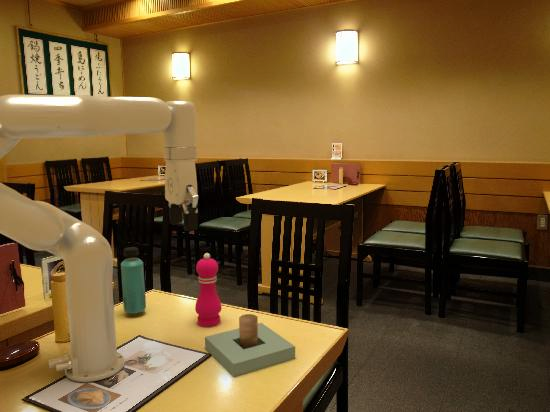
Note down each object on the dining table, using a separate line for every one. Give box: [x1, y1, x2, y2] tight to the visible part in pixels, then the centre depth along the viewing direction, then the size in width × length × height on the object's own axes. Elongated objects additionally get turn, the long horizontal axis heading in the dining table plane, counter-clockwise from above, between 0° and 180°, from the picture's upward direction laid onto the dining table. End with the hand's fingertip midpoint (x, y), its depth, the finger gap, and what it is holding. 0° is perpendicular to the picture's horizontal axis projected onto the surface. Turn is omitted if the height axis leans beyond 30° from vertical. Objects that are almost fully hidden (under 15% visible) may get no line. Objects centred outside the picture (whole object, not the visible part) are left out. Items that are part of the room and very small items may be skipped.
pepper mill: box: [194, 252, 222, 328], centre depth 129 cm, size 7×7×20 cm
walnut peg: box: [238, 313, 259, 349], centre depth 112 cm, size 4×4×9 cm
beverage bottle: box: [120, 246, 147, 314], centre depth 135 cm, size 6×7×20 cm
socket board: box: [204, 322, 296, 378], centre depth 113 cm, size 16×16×3 cm
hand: (183, 226), depth 112 cm, fingers open, 9 cm apart
